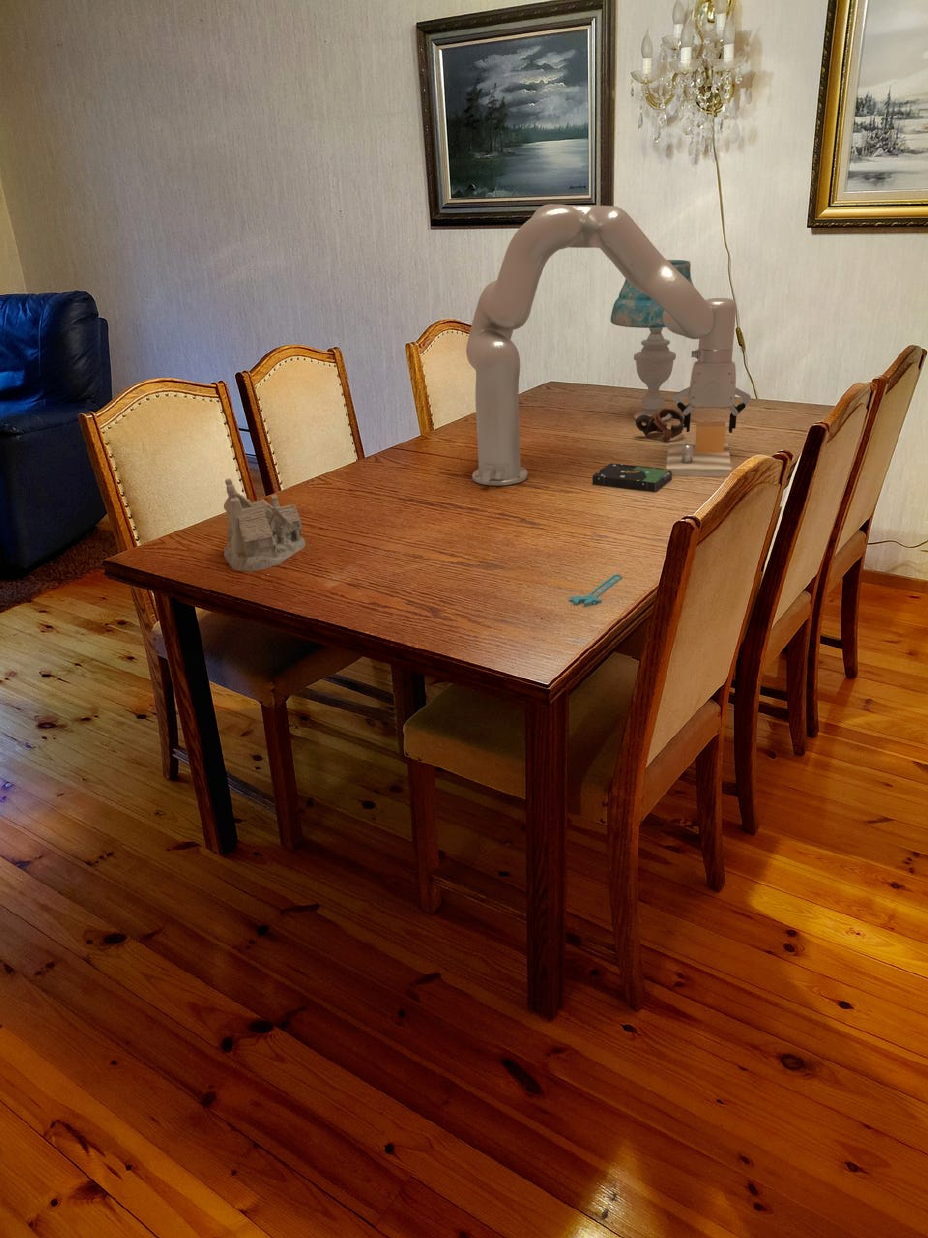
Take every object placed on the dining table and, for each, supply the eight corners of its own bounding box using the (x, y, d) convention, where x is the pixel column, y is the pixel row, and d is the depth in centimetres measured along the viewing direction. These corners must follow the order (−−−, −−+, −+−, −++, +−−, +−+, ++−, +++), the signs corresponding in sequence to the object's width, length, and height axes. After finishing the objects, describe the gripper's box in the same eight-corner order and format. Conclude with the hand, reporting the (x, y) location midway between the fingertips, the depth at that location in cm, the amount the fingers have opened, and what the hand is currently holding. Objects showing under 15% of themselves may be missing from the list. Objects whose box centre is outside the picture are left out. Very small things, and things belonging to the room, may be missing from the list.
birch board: (730, 476, 202) (731, 469, 201) (665, 475, 205) (666, 468, 204) (727, 449, 221) (728, 443, 220) (668, 448, 224) (668, 442, 223)
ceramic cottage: (228, 574, 165) (219, 493, 160) (222, 547, 180) (213, 472, 174) (314, 565, 170) (308, 486, 164) (301, 540, 184) (296, 466, 178)
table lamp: (604, 410, 263) (606, 261, 245) (688, 406, 261) (696, 256, 244) (613, 431, 241) (616, 269, 224) (705, 427, 240) (715, 264, 223)
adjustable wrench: (592, 605, 145) (565, 599, 147) (592, 611, 145) (565, 604, 148) (632, 574, 155) (605, 569, 157) (632, 580, 155) (605, 574, 158)
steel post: (692, 463, 207) (693, 446, 205) (681, 463, 207) (682, 446, 206) (692, 460, 209) (693, 443, 207) (681, 460, 209) (682, 443, 208)
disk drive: (591, 487, 202) (656, 494, 195) (591, 475, 201) (656, 481, 194) (609, 474, 210) (672, 480, 203) (609, 462, 209) (672, 468, 202)
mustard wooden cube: (723, 453, 213) (725, 427, 210) (695, 452, 215) (696, 427, 212) (723, 445, 219) (724, 420, 216) (695, 445, 220) (696, 420, 217)
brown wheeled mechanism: (672, 432, 239) (685, 408, 233) (676, 457, 234) (689, 433, 227) (628, 423, 238) (640, 399, 231) (631, 448, 232) (643, 423, 225)
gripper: (675, 359, 206) (670, 434, 213) (755, 359, 202) (748, 435, 209) (676, 353, 212) (671, 426, 220) (753, 353, 209) (746, 427, 216)
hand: (709, 431), depth 215 cm, fingers open, 9 cm apart
